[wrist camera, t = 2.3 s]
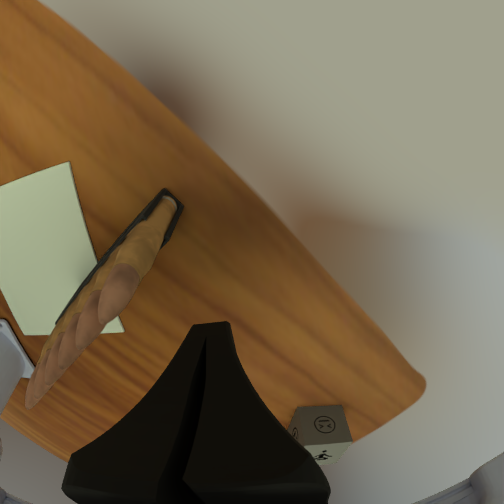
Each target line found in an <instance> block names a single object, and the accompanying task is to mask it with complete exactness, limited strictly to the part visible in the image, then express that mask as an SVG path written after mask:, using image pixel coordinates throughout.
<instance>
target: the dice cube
mask: <svg viewBox="0 0 504 504" xmlns="http://www.w3.org/2000/svg"><path fill="white" fill-rule="evenodd" d="M287 431H288V432H289V433H290V434H291V435H292V436H293V437H294V438H295V439H296V440H297V441H298V442H299V443H300V444H301V445H302V446H303V447H304V448H305V449H306V450H308V451H309V452H310V453H311V455H312V456H313V458H314V459H315V461H316V462H317V464H318V465H323V464H333V463H337V461H338V460H339V459H340V457H341V456H342V455H343V454H344V452H345V451H346V450H347V449H348V447H349V446H350V445H351V443H352V442H353V440H352V437H351V434H350V430H349V427H348V424H347V421H346V417H345V414H344V411H343V408H342V405H336V406H312V407H297V409H296V411H295V414H294V416H293V418H292V420H291V423H290V425H289V427H288V430H287Z"/></svg>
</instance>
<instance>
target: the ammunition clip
mask: <svg viewBox="0 0 504 504" xmlns="http://www.w3.org/2000/svg"><path fill="white" fill-rule="evenodd" d="M183 208H184V206H183V205H182V204H181V203H180V202H179V201H178V200H177V199H176V198H175V197H174V196H173V195H172V194H171V193H170V192H169V191H168V190H167V189H165V188H164V189H162V190H161V191H160V192H159V193H158V194H157V195H156V197H155V198H154V199H153V200H152V201H151V202H150V203H149V204H148V205H147V206H146V207H145V208H144V209H143V211H142V212H141V213H140V214H139V215H138V216H137V217H136V218H135V219H134V221H133V222H132V223H131V224H130V225H129V226H128V227H127V229H126V230H125V231H124V232H123V233H122V234H121V235H120V237H119V238H118V239H117V240H116V241H115V243H114V244H113V245H112V246H111V247H110V248H109V250H108V251H107V252H106V253H105V254H104V256H103V257H102V258H101V259H100V261H99V262H98V263H97V264H96V266H95V267H94V268H93V269H92V271H91V272H90V273H89V274H88V276H87V277H86V278H85V279H84V281H83V282H82V283H81V285H80V286H79V287H78V289H77V290H76V292H75V293H74V295H73V296H72V298H71V299H70V301H69V302H68V304H67V305H66V307H65V308H64V310H63V311H62V313H61V314H60V316H59V317H58V319H57V320H56V322H55V325H56V326H55V327H54V329H53V331H52V332H51V334H50V336H49V337H48V339H47V341H46V342H45V344H44V346H43V349H42V352H41V356H40V358H39V360H38V362H37V364H36V367H35V369H34V371H33V373H32V375H31V378H30V380H29V383H28V386H27V390H26V396H25V407H26V409H27V410H29V409H31V408H32V407H34V406H35V405H36V404H37V403H38V402H39V400H40V399H41V398H42V397H43V395H44V394H45V393H46V392H47V391H48V390H49V389H50V388H51V387H52V385H53V384H54V383H55V382H56V381H57V380H58V379H59V378H60V377H61V376H62V374H63V373H64V372H65V371H66V370H67V368H68V367H69V366H70V365H71V364H72V363H73V362H74V361H75V360H76V359H77V358H78V357H79V356H80V354H81V353H82V352H83V351H84V349H85V348H86V347H87V346H88V345H90V344H91V343H92V342H93V341H94V340H95V339H96V338H97V337H98V335H99V334H100V333H101V332H102V330H103V329H104V328H105V326H106V325H107V323H109V322H111V321H112V320H113V319H115V318H116V317H117V316H118V315H119V314H120V313H121V312H122V310H123V309H124V308H125V307H126V306H127V304H128V303H129V301H130V300H131V298H132V297H133V295H134V293H135V290H136V288H137V287H138V286H139V284H140V282H141V280H142V278H143V276H144V275H145V274H146V273H147V272H148V271H149V270H150V269H151V267H152V265H153V262H154V260H155V258H156V256H157V253H158V251H159V250H160V249H161V248H162V247H163V246H164V245H165V244H166V243H167V242H168V241H169V239H170V237H171V235H172V233H173V230H174V228H175V226H176V224H177V221H178V219H179V217H180V215H181V213H182V210H183Z"/></svg>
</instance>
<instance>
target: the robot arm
mask: <svg viewBox="0 0 504 504" xmlns="http://www.w3.org/2000/svg"><path fill="white" fill-rule="evenodd" d="M34 369H35V367H34V366H33V364H32V363H31V361H30V359H29V358H28V356H27V355H26V353H25V351H24V350H23V348H22V346H21V345H20V343H19V341H18V340H17V338H16V336H15V335H14V333H13V331H12V329H11V327H10V326H9V324H8V322H7V321H6V320H4V319H0V415H1V413H2V411H3V409H4V408H5V406H6V404H7V402H8V400H9V398H10V396H11V394H12V393H13V391H14V389H15V387H16V385H17V384H18V382H19V380H20V378H21V377H24V378H31V375H32V373H33V371H34ZM1 456H2V444H1V439H0V460H1ZM61 489H62V491H63V492H64V493H65V495H66V496H68V497H69V498H70V499H72V500H73V501H75V502H76V503H78V504H328V499H329V496H330V493H331V490H330V486H329V483H328V481H327V478H326V476H325V475H324V473H323V471H322V470H321V468H320V467H319V465H318V464H317V462H316V461H315V459H314V458H313V456H312V455H311V453H310V452H309V451H308V450H306V449H305V448H304V447H303V446H302V445H301V444H300V443H299V442H298V441H297V440H296V439H295V438H294V437H293V436H292V435H291V434H290V433H289V432H288V431H287V430H286V429H285V428H284V427H283V426H282V425H281V424H280V422H279V421H278V420H277V419H276V417H275V416H274V415H273V414H272V413H271V411H270V410H269V409H268V408H267V406H266V405H265V404H264V402H263V401H262V399H261V398H260V397H259V395H258V393H257V392H256V390H255V389H254V387H253V386H252V384H251V382H250V380H249V379H248V377H247V375H246V373H245V371H244V369H243V367H242V365H241V363H240V361H239V358H238V356H237V353H236V348H235V344H234V339H233V335H232V330H231V325H230V323H229V322H227V321H223V322H214V323H205V324H195V325H193V326H192V327H191V329H190V331H189V332H188V334H187V336H186V338H185V339H184V341H183V343H182V344H181V346H180V348H179V349H178V351H177V353H176V354H175V356H174V357H173V359H172V360H171V362H170V363H169V365H168V366H167V368H166V369H165V371H164V372H163V373H162V375H161V376H160V377H159V379H158V380H157V382H156V383H155V384H154V385H153V387H152V388H151V389H150V390H149V391H148V393H147V394H146V395H145V396H144V397H143V398H142V399H141V401H140V402H139V403H138V404H137V405H136V406H135V407H134V408H133V409H132V410H131V411H130V412H129V413H128V414H126V415H125V416H124V417H123V418H122V419H121V420H120V421H119V422H118V423H116V424H115V425H114V426H113V427H112V428H110V429H109V430H108V431H106V432H105V433H104V434H102V435H101V436H100V437H98V438H97V439H95V440H94V441H92V442H91V443H89V444H87V445H86V446H84V447H83V448H81V449H79V450H78V451H76V452H74V453H72V454H71V457H70V460H69V462H68V465H67V469H66V472H65V476H64V480H63V483H62V488H61ZM0 504H31V503H29V502H27V501H24V500H22V499H20V498H17V497H15V496H13V495H10V494H8V493H6V492H5V491H4V490H3V489H2V488H1V487H0ZM413 504H504V452H503V453H502V454H500V455H498V456H497V457H495V458H494V459H492V460H490V461H489V462H487V463H485V464H484V465H482V466H481V467H479V468H478V469H477V470H476V471H474V472H473V473H472V474H471V476H470V477H469V478H468V479H466V480H464V481H462V482H460V483H458V484H456V485H454V486H452V487H450V488H448V489H446V490H443V491H441V492H439V493H437V494H435V495H432V496H430V497H428V498H425V499H423V500H421V501H418V502H415V503H413Z"/></svg>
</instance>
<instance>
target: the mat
mask: <svg viewBox="0 0 504 504" xmlns="http://www.w3.org/2000/svg"><path fill="white" fill-rule="evenodd" d="M97 263H98V260H97V257H96V254H95V251H94V248H93V245H92V242H91V239H90V236H89V233H88V229H87V226H86V223H85V219H84V216H83V212H82V209H81V205H80V201H79V197H78V194H77V190H76V186H75V182H74V177H73V173H72V169H71V164H70V161H69V162H66V163H62V164H59V165H56V166H53V167H50V168H48V169H45V170H42V171H39V172H36V173H33V174H31V175H28V176H25V177H23V178H20V179H17V180H15V181H12V182H10V183H7V184H5V185H2V186H0V289H1V291H2V293H3V295H4V297H5V299H6V301H7V303H8V305H9V307H10V309H11V311H12V313H13V315H14V317H15V319H16V321H17V323H18V325H19V327H20V328H21V330H22V332H23V334H24V335H50V334H51V332H52V331H53V329H54V327H55V326H56V325H55V322H56V320H57V319H58V317H59V316H60V314H61V313H62V311H63V310H64V308H65V307H66V305H67V304H68V302H69V301H70V299H71V298H72V296H73V295H74V293H75V292H76V290H77V289H78V287H79V286H80V285H81V283H82V282H83V281H84V279H85V278H86V277H87V276H88V274H89V273H90V272H91V271H92V269H93V268H94V267H95V266H96V264H97ZM124 331H125V330H124V327H123V325H122V323H121V320H120V318H119V316H117V317H116V318H115V319H113V320H112V321H111V322H109V323H107V325H106V326H105V328H104V329H103V330H102V332H101V333H116V332H124Z"/></svg>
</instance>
